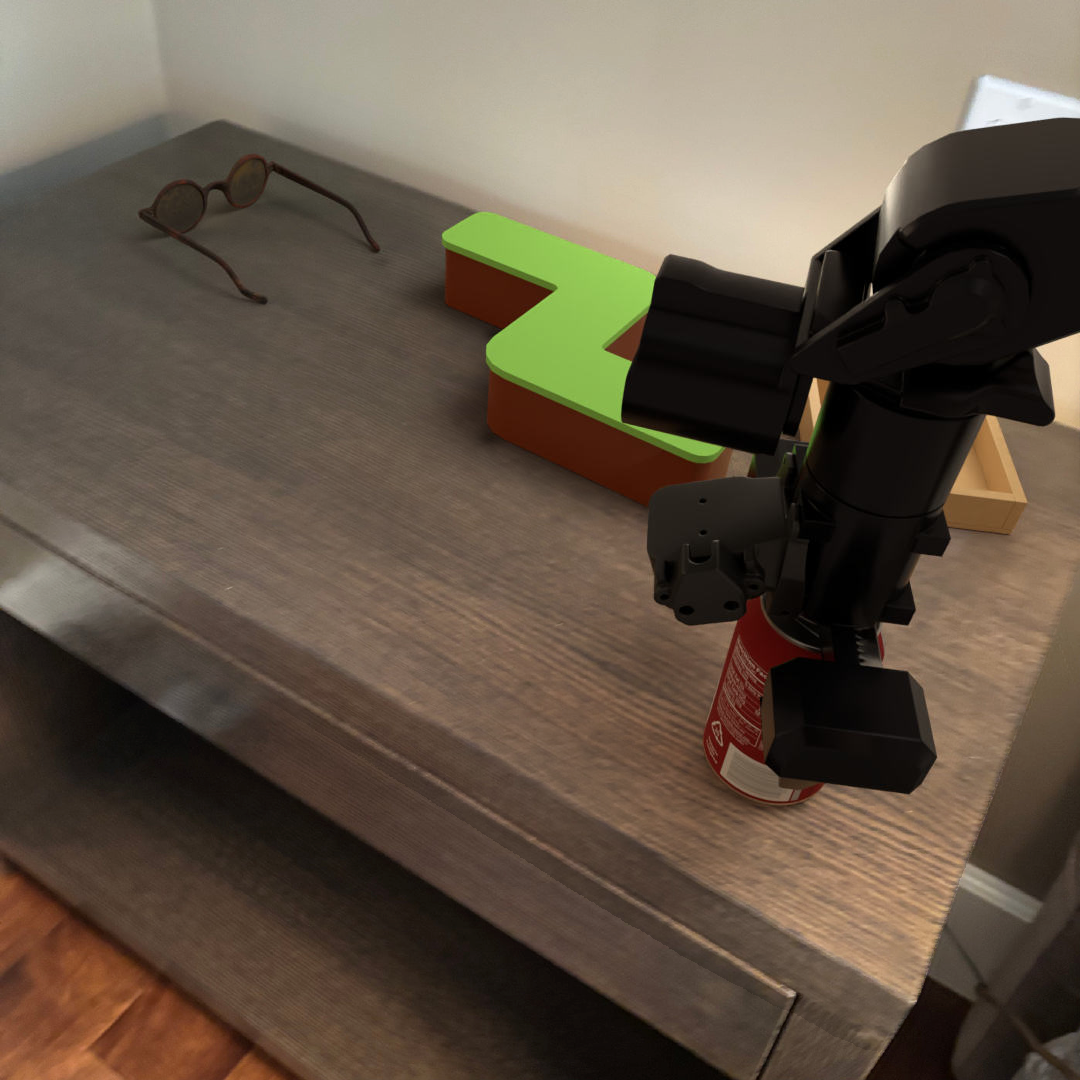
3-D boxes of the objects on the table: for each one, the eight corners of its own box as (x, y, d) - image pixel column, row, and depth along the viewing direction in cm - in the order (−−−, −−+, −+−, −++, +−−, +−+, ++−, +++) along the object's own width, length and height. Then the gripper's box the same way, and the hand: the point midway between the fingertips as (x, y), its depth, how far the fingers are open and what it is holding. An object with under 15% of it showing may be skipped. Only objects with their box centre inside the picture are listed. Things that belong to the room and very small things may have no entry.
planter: (340, 365, 77) (335, 296, 73) (480, 272, 89) (482, 208, 85) (692, 531, 67) (709, 461, 63) (799, 401, 78) (819, 335, 74)
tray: (973, 422, 78) (987, 391, 76) (1010, 534, 69) (1028, 502, 67) (795, 401, 78) (804, 369, 76) (809, 509, 69) (820, 477, 67)
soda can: (791, 837, 51) (859, 688, 43) (676, 763, 54) (720, 610, 46) (848, 750, 55) (920, 599, 47) (738, 686, 58) (789, 531, 50)
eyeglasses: (276, 193, 97) (270, 140, 94) (388, 248, 91) (386, 194, 87) (144, 245, 88) (132, 189, 85) (258, 310, 82) (250, 253, 79)
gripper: (677, 321, 48) (631, 558, 58) (672, 616, 34) (613, 853, 45) (917, 350, 47) (826, 583, 58) (1007, 660, 34) (867, 888, 45)
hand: (782, 707), depth 51 cm, fingers open, 9 cm apart
